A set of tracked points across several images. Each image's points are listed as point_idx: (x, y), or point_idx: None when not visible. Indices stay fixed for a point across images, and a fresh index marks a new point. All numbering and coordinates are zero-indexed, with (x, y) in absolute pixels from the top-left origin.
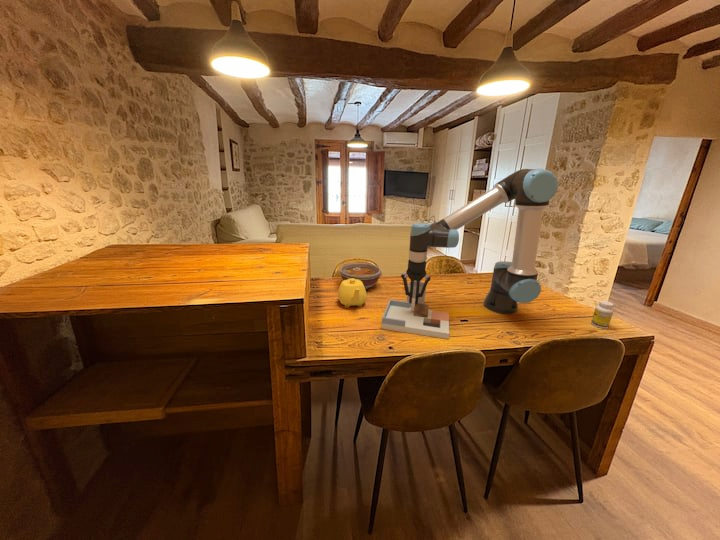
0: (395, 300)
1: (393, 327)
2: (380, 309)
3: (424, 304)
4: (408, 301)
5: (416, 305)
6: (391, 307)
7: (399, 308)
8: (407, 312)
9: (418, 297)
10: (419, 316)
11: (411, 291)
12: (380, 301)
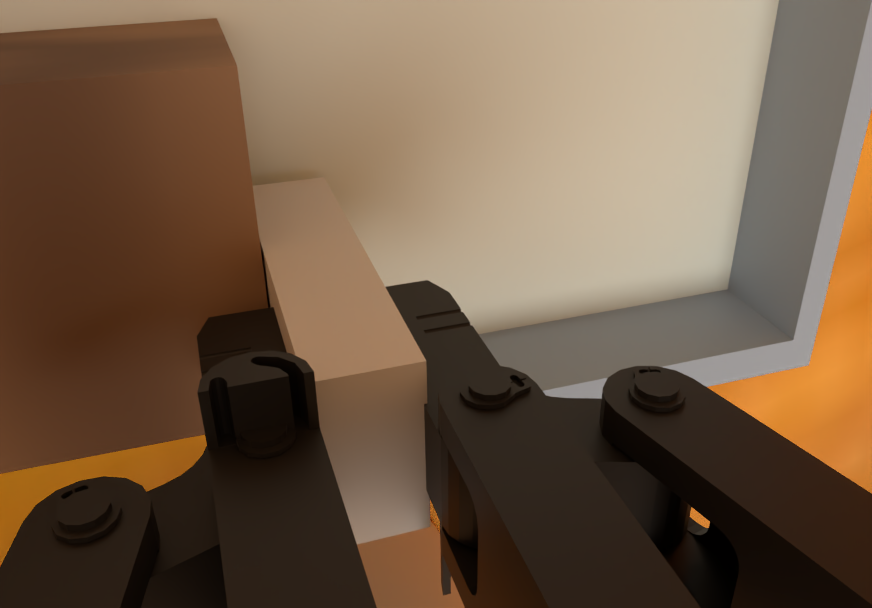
0: (708, 379)
1: None
2: None
3: (21, 449)
4: (438, 562)
5: (220, 293)
6: (712, 210)
7: (566, 239)
8: (386, 132)
9: (202, 461)
10: (53, 29)
11: (564, 525)
12: (807, 434)
